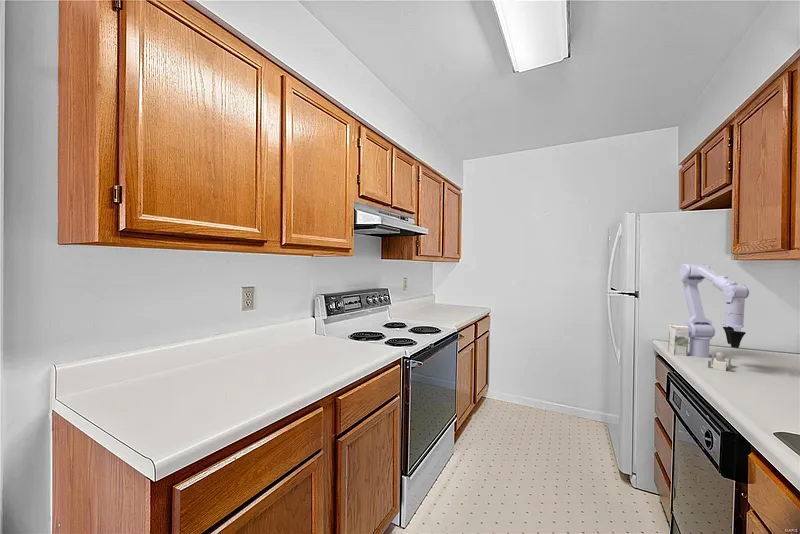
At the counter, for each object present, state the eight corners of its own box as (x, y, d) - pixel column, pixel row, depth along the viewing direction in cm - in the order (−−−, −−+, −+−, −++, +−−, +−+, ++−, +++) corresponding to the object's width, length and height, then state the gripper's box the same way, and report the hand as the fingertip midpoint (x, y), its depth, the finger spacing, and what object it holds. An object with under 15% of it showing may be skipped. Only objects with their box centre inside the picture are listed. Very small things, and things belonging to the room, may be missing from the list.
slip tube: (714, 364, 158) (715, 349, 157) (727, 366, 155) (727, 351, 155) (712, 368, 152) (713, 353, 152) (725, 370, 149) (726, 355, 149)
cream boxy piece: (712, 363, 161) (712, 353, 160) (730, 366, 156) (731, 356, 156) (711, 364, 158) (711, 354, 158) (730, 367, 154) (730, 357, 154)
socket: (708, 367, 154) (708, 360, 154) (731, 371, 149) (731, 364, 149) (707, 367, 153) (708, 361, 153) (731, 372, 148) (731, 365, 148)
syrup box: (681, 354, 177) (682, 324, 176) (687, 357, 171) (689, 326, 170) (667, 353, 178) (669, 323, 177) (673, 356, 172) (675, 326, 172)
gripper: (719, 310, 162) (717, 341, 162) (725, 314, 149) (723, 347, 150) (740, 312, 158) (739, 343, 158) (748, 316, 146) (746, 350, 146)
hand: (732, 345), depth 154 cm, fingers open, 7 cm apart
